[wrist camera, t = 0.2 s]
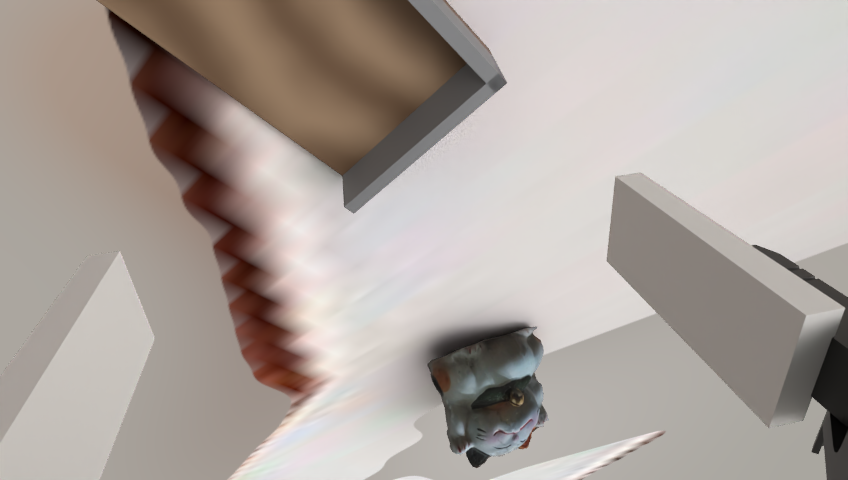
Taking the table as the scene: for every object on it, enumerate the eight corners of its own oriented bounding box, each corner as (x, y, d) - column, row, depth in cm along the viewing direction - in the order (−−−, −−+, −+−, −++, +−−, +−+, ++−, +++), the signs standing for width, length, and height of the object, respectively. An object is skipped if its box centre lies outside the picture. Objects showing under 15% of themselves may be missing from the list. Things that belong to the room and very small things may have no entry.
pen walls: (241, -226, 27) (232, -220, 24) (493, 56, 39) (507, 83, 36) (92, -3, 33) (70, 23, 30) (351, 182, 45) (353, 213, 42)
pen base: (243, -228, 28) (241, -226, 27) (489, 49, 40) (493, 56, 39) (97, -10, 33) (92, -3, 33) (350, 173, 46) (351, 182, 45)
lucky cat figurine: (558, 319, 64) (596, 441, 60) (499, 341, 74) (527, 447, 70) (455, 337, 56) (490, 478, 52) (403, 358, 66) (429, 479, 62)
